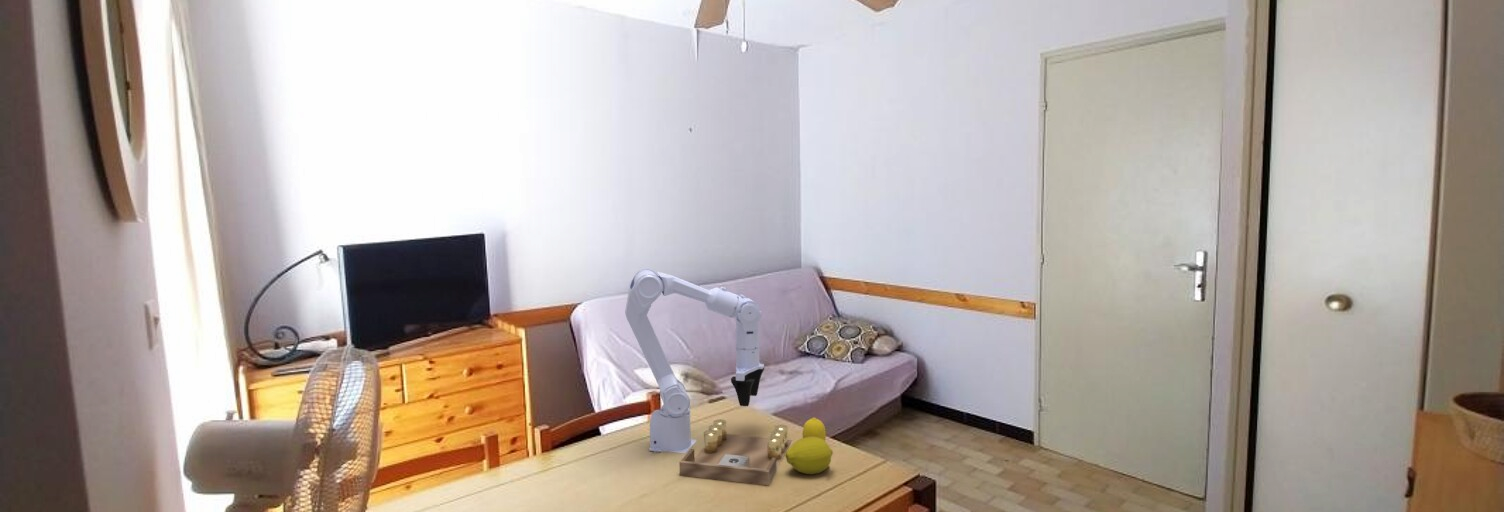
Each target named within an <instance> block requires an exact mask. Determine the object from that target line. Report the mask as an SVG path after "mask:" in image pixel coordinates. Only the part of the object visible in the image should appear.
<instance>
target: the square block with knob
mask: <svg viewBox="0 0 1504 512" xmlns="http://www.w3.org/2000/svg"><path fill="white" fill-rule="evenodd" d="M718 465H726V466H735V467H744V468H749V467H750V459H749V457H748V456H738V455H729V454H725V456H724V457H723V458H722V460H721V461H720V462H719V464H718Z"/></svg>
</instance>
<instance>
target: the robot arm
mask: <svg viewBox="0 0 1504 512" xmlns="http://www.w3.org/2000/svg"><path fill="white" fill-rule="evenodd" d="M656 272H657V273H656ZM656 272H655V271H654V270H652V269H649V268H644V269H641V270H638V271H637V272H635V274H634V276H633V277H632V279H631V281H630V283H629V286H628V287H629V288H628V293H627V299H626V300H627V301H626V303H625V304H626V305H625V317H626V320H627V322H628V323H629V326H630V328H631V330H632V332H633V334H634V336H635V338H636V339H635V340H637V343H638V345H639V348H640V349H641V352H642V354H643V355H644V358H645V360H646V362H647V364H648V366H649V368H650V370H651V373H652V374H653V376H654V379H655V380H656V383H657V385H658V388H659V396H660V399H661V401H662V403H663V404H662V406H661V407H660V408H659V409H655V410H654V411H653V412H652V413H651V416H650V419H649V440H650V442H649V444H650V445H649V446H650V447H649V452H657V453H662V452H671V453H677V454H678V453H680V454H685V453H686V454H687V453H688V452H689V451H690V450H691V449H692V446H694V444H695V443H696V442H697V441H698V440H697V439H694V438H693V439H692V434H691V432H692V431H691V429H692V428H691V426H692V425H691V408H690V407H691V399H690V396H689V395H688V394H687V390H686V387H685V385H684V384H683V382H681V381H680V380H679V379H678V378H677V377H676V375H675V373H674V370H673V369H672V367H671V364H670V363H669V360H668V358H667V356H666V354H665V352H664V349H663V347H662V345H661V343H660V341H659V338H658V337H657V335H656V332H655V330H654V328H653V325H652V323H651V322H650V320H649V317H648V313H649V311H650V308H651V307H652V305H653V303H655V301H656V300H658V298H659V297H660V296H661V294H662V295H663V297H666V296H669V295H672V294H678V295H680V296H682V297H683V296H684V297H686V298H689V299H693V300H696V301H699V302H703V303H705V307H706V308H707V309H708V310H709V311H712V312H714V313H718V314H720V315H723V316H726V317H729V318H731V319H732V318H735V354H736V355H735V357H736V358H735V359H736V360H735V361H736V364H735V371H736V372H735V376H732V377H731V378H730V383H731V384H732V385H733V387H734V390H735V392H736V397H737V399H738V403H739V406H740V407H748V406H750V402H751V397H753V396H754V397H757V395H758V392H759V386H760V381H761V379H762V375H763V372H764V370H765V364H764V363H763V364H762V363H761V362H760V329H759V328H760V327H759V322H760V319H761V317H762V315H763V312H762V311H761V308H760V306H759V304H758V303H756V302H755V301H754V300H752V299H751V298H749V297H748V296H745V295H744V294H741V293H739V295H738V294H735V293H733V292H730V291H728V290H727V288H726V287H724V286H720V288H719V287H714V288H711V289H707V288H704V287H701V286H700V285H697V284H695V283H692V282H689V281H687V280H685V279H682V278H679V277H677V276H675V275H672V274H668V273H665V272H661V271H656Z"/></svg>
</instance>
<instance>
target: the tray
mask: <svg viewBox="0 0 1504 512" xmlns="http://www.w3.org/2000/svg"><path fill="white" fill-rule="evenodd" d="M767 438H768V437H761V436H750V435H739V434H730V433H727V440H726V441H723V442H722V446H721V447H718V451H717V452H716V453H713V454H707V453H705V452H704V446H703V447H702V448H701V449H700V451H699V452H698V453H697V454H696V455H695V449H694V448H693V449H692V448H690V449H689V450H688V451H687V452H686V454H685V455H684V456H683V458H682V459H681V460H679V462H678V463H679V466H678V467H679V476H682V477H692V478H699V479H709V480H717V481H718V480H719V481H725V482H726V481H727V482H733V483H734V482H735V483H741V484H742V483H744V484H752V485H761V486H762V485H763V486H767V487H769V486H770V485H771V482H772V480H773V478H774V476H775V474H776V472H777V471H778V469H779V467H780V465H781V463H782V461H783V459H784V457H785V454H786V452H787V451H788V450H789V449H790V447H791V446H790V445H791V444H792V442H793V439H788V446H787V447H785V452H784V453H782V454H781V459H779V460H776V458H774V457H773V458H772V460H769V459H768V456H767ZM725 454H729V455H738V456H748V457H749V459H750V467H749V468H744V467H735V466H726V465H718V464H719V462H720V461H721V460H722V458H723V457H724V456H725Z"/></svg>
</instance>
